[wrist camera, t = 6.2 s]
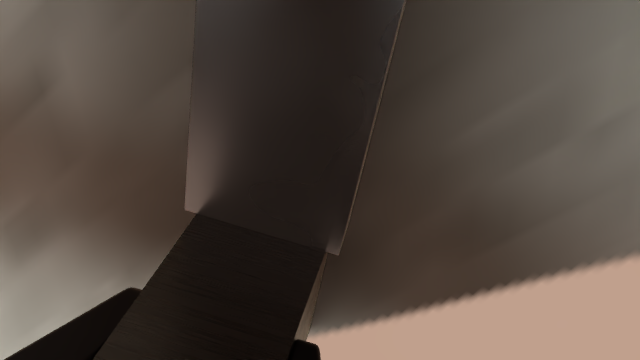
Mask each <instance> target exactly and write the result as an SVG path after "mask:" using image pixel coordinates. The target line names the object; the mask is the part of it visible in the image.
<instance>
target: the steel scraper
mask: <svg viewBox="0 0 640 360" xmlns="http://www.w3.org/2000/svg"><path fill="white" fill-rule="evenodd" d="M406 1H407V0H196V15H195V32H194V50H193V68H192V85H191V103H190V121H189V138H188V156H187V174H186V191H185V209H184V210H186V211H190V212H193V213H196V216H195V217H194V219H193V220H192V221H191V223H190V224H189V226H188V227H187V228H186V230H185V231H184V233H183V234H182V235H181V237H180V238H179V240H178V241H177V242H176V244H175V245H174V247H173V248H172V249H171V251H170V252H169V254H168V255H167V256H166V258H165V259H164V261H163V262H162V263H161V265H160V266H159V267H158V269H157V270H156V272H155V273H154V274H153V276H152V277H151V279H150V280H149V281H148V283H147V284H146V286H145V287H144V288H143V290H142V291H141V293H140V294H139V295H138V297H137V298H136V300H135V301H134V302H133V304H132V305H131V307H130V308H129V309H128V311H127V312H126V314H125V315H124V316H123V318H122V319H121V321H120V322H119V323H118V325H117V326H116V328H115V329H114V330H113V332H112V333H111V335H110V336H109V337H108V339H107V340H106V342H105V343H104V344H103V346H102V347H101V349H100V350H99V351H98V353H97V354H96V356H95V357H94V358H93V360H288V358H289V356H290V353H291V351H292V348H293V345H294V343H295V341H296V340H297V339H300V340H304V341H306V339H307V336H308V333H309V330H310V326H311V322H312V318H313V314H314V310H315V305H316V301H317V297H318V293H319V289H320V285H321V281H322V277H323V273H324V268H325V264H326V260H327V256H328V253H332V254H335V255H338V256H339V253H340V250H341V247H342V244H343V241H344V238H345V235H346V232H347V229H348V225H349V221H350V217H351V213H352V209H353V205H354V202H355V198H356V194H357V190H358V186H359V182H360V178H361V175H362V171H363V167H364V163H365V159H366V155H367V151H368V148H369V144H370V140H371V136H372V132H373V128H374V124H375V121H376V117H377V113H378V109H379V105H380V101H381V97H382V94H383V90H384V86H385V82H386V78H387V74H388V70H389V67H390V63H391V59H392V55H393V51H394V47H395V43H396V40H397V36H398V32H399V28H400V24H401V20H402V16H403V13H404V9H405V5H406Z"/></svg>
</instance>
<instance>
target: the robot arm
mask: <svg viewBox="0 0 640 360" xmlns="http://www.w3.org/2000/svg"><path fill="white" fill-rule="evenodd" d="M141 291H142V290H140V289H137V288H133V287H131V288H127V289H125V290H123V291H122V292H120V293H118V294H117V295H115V296H113V297H111V298H110V299H108V300H106V301H104V302H103V303H101V304H99V305H98V306H96V307H94V308H92V309H91V310H89V311H87V312H85V313H84V314H82V315H80V316H79V317H77V318H75V319H73V320H72V321H70V322H68V323H66V324H65V325H63V326H61V327H60V328H58V329H56V330H54V331H53V332H51V333H49V334H47V335H46V336H44V337H42V338H40V339H39V340H37V341H35V342H34V343H32V344H30V345H28V346H27V347H25V348H23V349H21V350H20V351H18V352H16V353H15V354H13V355H11V356H9V357H8V358H6V359H4V360H93V358H94V357H95V356H96V354H97V353H98V351H99V350H100V349H101V347H102V346H103V344H104V343H105V342H106V340H107V339H108V337H109V336H110V335H111V333H112V332H113V330H114V329H115V328H116V326H117V325H118V323H119V322H120V321H121V319H122V318H123V316H124V315H125V314H126V312H127V311H128V309H129V308H130V307H131V305H132V304H133V302H134V301H135V300H136V298H137V297H138V295H139V294H140V293H141ZM288 360H321V359H320V351H319V347H318V346H317V345H316V344H313V343H310V342H307V341H304V340H300V339H297V340H296V341H295V343H294V345H293V348H292V351H291V353H290V356H289V358H288Z"/></svg>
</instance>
